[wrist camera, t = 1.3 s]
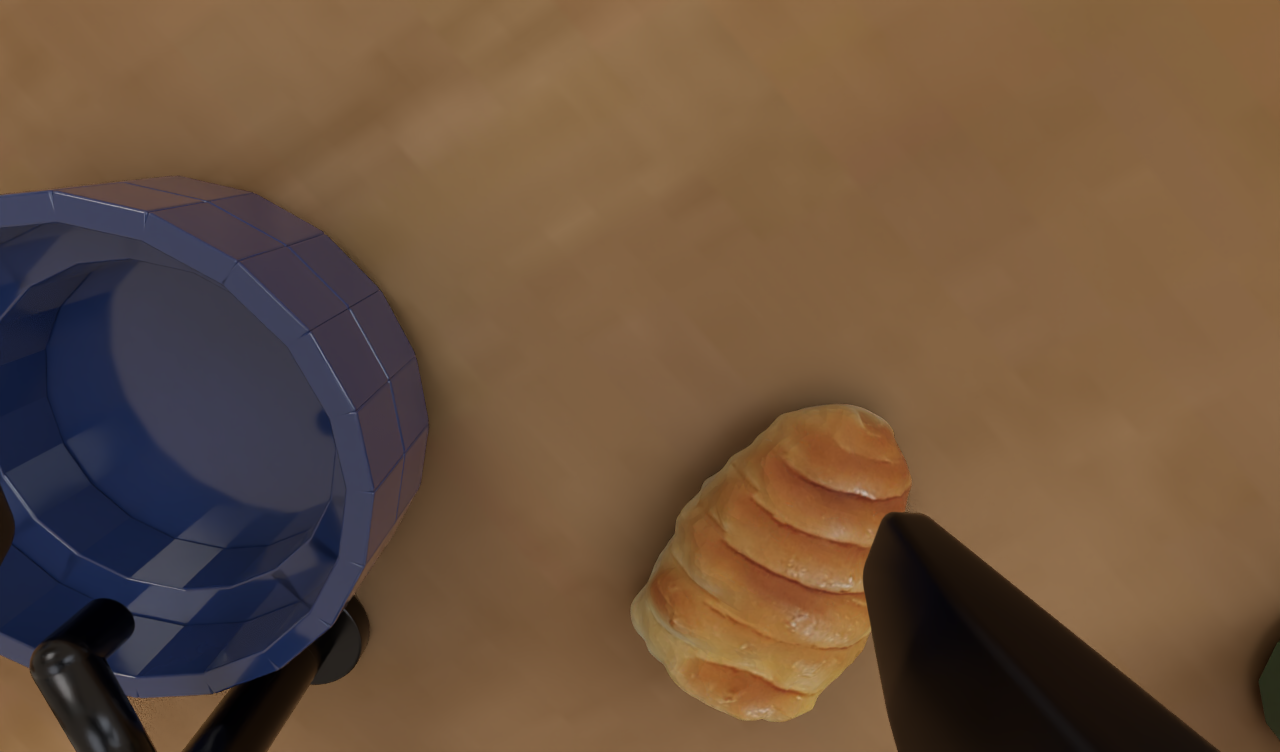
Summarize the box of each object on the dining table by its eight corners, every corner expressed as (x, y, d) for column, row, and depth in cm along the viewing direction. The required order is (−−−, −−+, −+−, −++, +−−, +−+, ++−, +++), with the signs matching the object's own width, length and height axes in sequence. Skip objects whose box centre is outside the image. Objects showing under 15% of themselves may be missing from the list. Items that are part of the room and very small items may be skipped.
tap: (385, 658, 26) (255, 905, 18) (286, 677, 26) (114, 929, 18) (301, 459, 24) (108, 638, 16) (195, 484, 24) (-48, 671, 16)
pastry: (747, 351, 22) (764, 397, 19) (956, 439, 23) (1011, 500, 19) (620, 609, 25) (613, 692, 21) (809, 680, 26) (833, 773, 22)
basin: (329, 652, 26) (252, 772, 21) (-52, 466, 24) (-228, 551, 20) (508, 328, 22) (464, 385, 17) (72, 82, 21) (-108, 70, 16)
